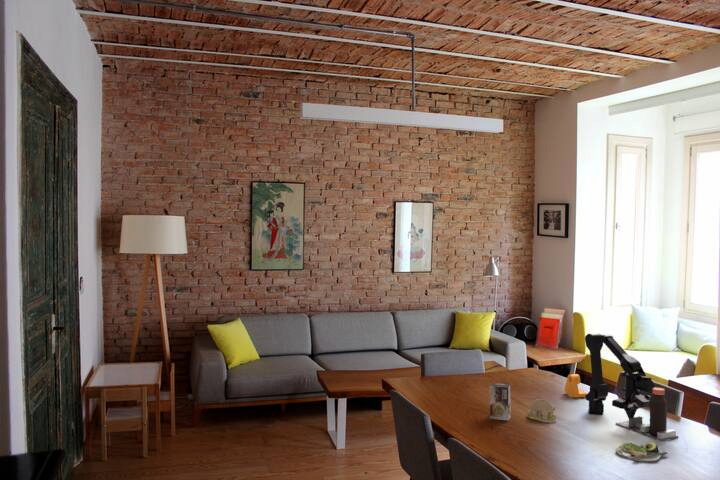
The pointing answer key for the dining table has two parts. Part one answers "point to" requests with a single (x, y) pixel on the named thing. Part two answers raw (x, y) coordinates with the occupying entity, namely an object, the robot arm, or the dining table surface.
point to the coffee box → (500, 401)
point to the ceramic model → (542, 411)
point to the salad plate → (641, 451)
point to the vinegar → (658, 411)
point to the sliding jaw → (639, 424)
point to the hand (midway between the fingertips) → (630, 420)
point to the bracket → (573, 386)
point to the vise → (660, 435)
